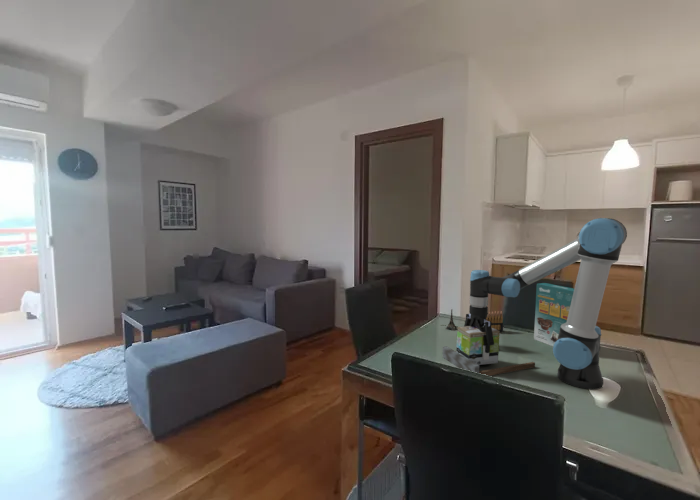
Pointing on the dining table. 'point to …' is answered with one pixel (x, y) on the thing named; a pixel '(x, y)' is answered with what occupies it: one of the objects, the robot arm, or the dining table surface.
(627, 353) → the dining table surface
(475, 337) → the tea box
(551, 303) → the cake mix box
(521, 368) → the guide track
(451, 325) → the eiffel tower figurine
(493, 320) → the ammunition clip
